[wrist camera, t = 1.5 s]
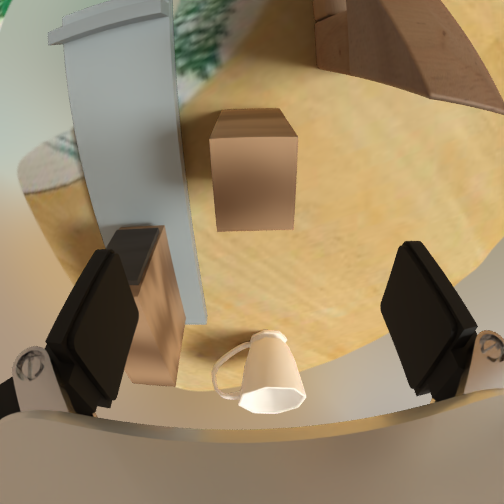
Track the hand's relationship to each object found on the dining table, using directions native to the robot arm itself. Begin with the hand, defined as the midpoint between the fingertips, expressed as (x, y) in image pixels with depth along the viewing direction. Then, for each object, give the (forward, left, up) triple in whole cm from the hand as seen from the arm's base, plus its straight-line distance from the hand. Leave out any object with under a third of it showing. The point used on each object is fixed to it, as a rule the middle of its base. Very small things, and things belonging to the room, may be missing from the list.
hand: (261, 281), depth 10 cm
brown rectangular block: (-1, 0, -14) cm, 14 cm away
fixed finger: (+11, -9, -13) cm, 19 cm away
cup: (+22, 0, -14) cm, 27 cm away
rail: (+2, -9, -14) cm, 17 cm away
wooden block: (-12, +6, -14) cm, 19 cm away
